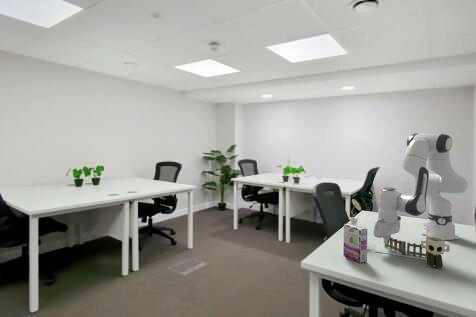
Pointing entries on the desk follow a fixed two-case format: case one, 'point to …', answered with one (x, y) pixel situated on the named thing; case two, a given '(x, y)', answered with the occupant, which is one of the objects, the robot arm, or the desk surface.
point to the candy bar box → (355, 243)
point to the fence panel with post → (413, 249)
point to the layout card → (387, 250)
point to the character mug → (435, 251)
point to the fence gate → (394, 245)
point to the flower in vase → (358, 207)
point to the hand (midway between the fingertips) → (386, 242)
